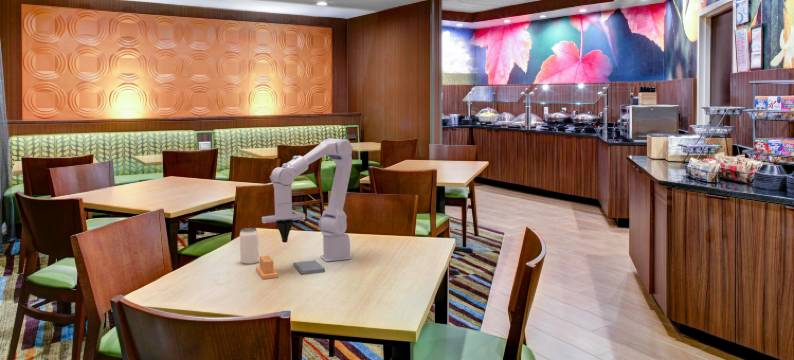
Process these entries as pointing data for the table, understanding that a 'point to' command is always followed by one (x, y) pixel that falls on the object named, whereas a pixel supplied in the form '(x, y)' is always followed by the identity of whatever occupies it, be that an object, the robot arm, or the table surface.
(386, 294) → the table surface
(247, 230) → the can
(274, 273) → the stub
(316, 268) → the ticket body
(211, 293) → the table surface
